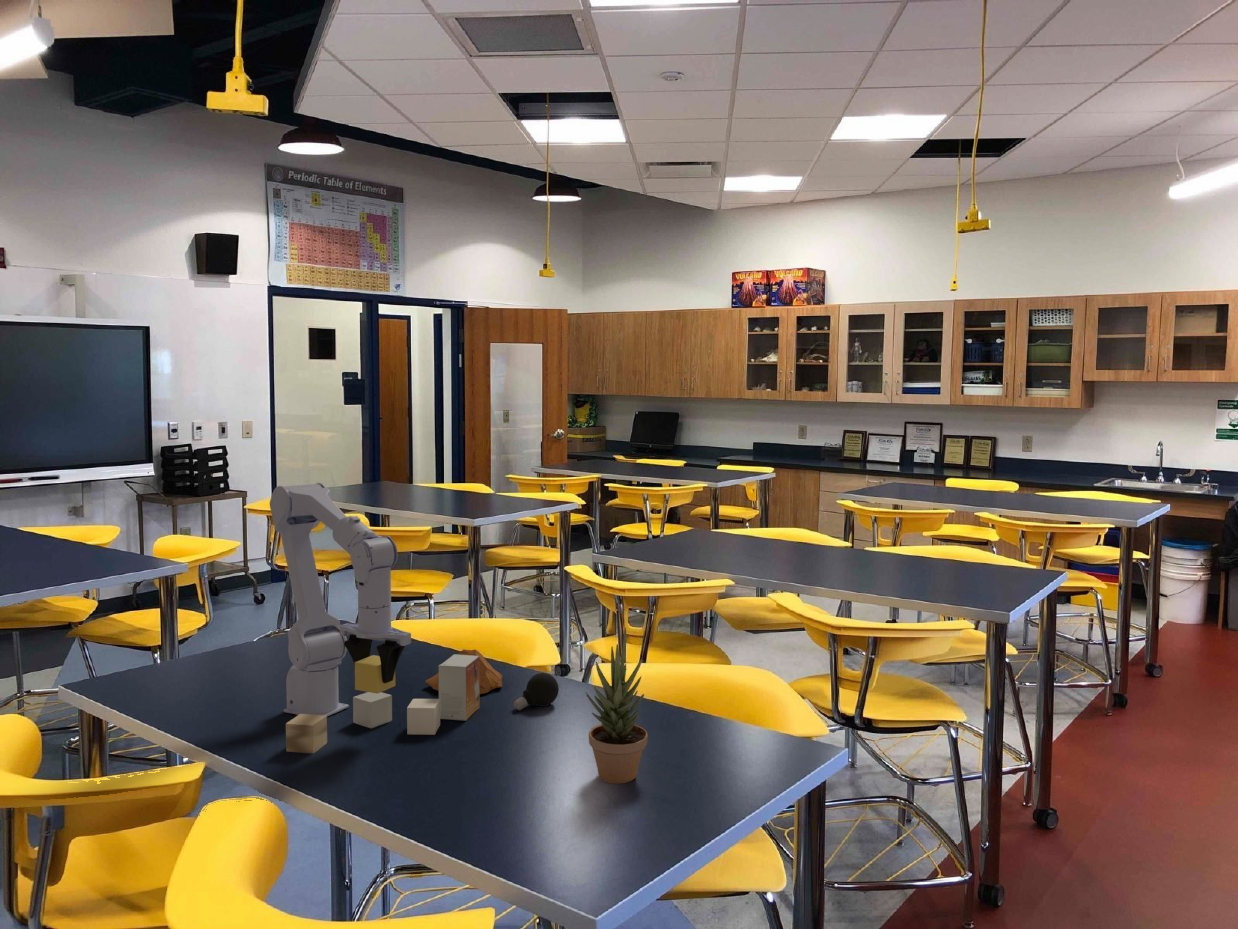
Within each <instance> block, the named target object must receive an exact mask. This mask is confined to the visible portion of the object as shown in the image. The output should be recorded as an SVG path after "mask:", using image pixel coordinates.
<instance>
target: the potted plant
mask: <svg viewBox="0 0 1238 929" xmlns="http://www.w3.org/2000/svg"><path fill="white" fill-rule="evenodd" d="M623 631H624V632H623V634H624V635H623V641H622V642H623V643H622V649H621V656H620V650H619V649H620V648H619V644H618V643H616V647H615V653H614V648H613V646H611V648H610V649H611V651H610V676H611V677H610V679H611V680H610V682H611V684H610V683H609V681H608V680H607V678H606V677H605V675H604V673H603V671H602V670H601V668H600V665H599V663H598V662H597V661H595V667H596V671H597V675H598V677H599V680H600V683H601V685H602V689H603V692H604V695H603V694H602V692H600V691H599V690H598V689H597V687H595V686H593V689H594V691H595V695H594V696H593V697H594V699H595V701H596V702H597V703H596V702H595V701H594V700H593V699H592V697H591V696H590V695H589V694H588V692H585V694H586V697H587V698H588V701H589V702H590V703H591V705H592V706H593V707H594V709H595V710H596V711H597V712H598V713H599V715H597V714H596V713H594V712H592V713H591V715H593V717H594V718H595V719H596V720H598V721H599V722H600V723H601V724H597V725H596V726H592V727H591V729H590V730H589V732H588V744H589V745H590V747H591V749H592V753H593V755H594V756H593V757H594V759H595V764H596V768H597V773H598V777H599V779H600V780H602V781H603V782H604V783H605V782H606V783H609V784H626V783H630V782H631V781H633V780H634V779H636V778H637V774H638V769H639V765H640V761H641V758H642V756H643V755H642V754H643V752H644V751H643V750H644V749H645V748H646V747H647V745H648V737H649V736H648V731H647V730H646V729H644V728H643V727H641V726H639V725H636V724H635V722H636V721H637V720H638V718H639V716H640V714H639V713H640V711H641V710H642V709H641V708H639V709H637V710H636V711H635V709H636V708H637V707H638V705H640V703H641V701H642V700H643V698H644V697H645V693H642V694H641V695H640V696H639V697H638V699H637V700H636V701H635V702H634V700H635V698H636V696H637V694H638V691H639V690H637V689H638V687H639V684H640V682H641V680H642V676H640V677H638V679H637V680H636V682H635V683H634V680H635V678H636V676H637V674H638V671H639V670H640V668H641V665H642V661H643V658H641V659H640V660H639V661H638V663H637V665H636V667H635V668H634V670H633V671H632V673H631V675H630V676H629V677H628V678H627V680H626V674H627V663H626V662H625V661H626V652H627V651H626V650H627V627H624V630H623ZM633 683H634V684H633ZM632 684H633V686H632ZM631 686H632V687H631ZM596 695H597V696H596ZM633 703H634V704H633ZM633 711H635V712H634V713H633ZM632 713H633V714H632ZM631 714H632V715H631Z"/></svg>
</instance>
